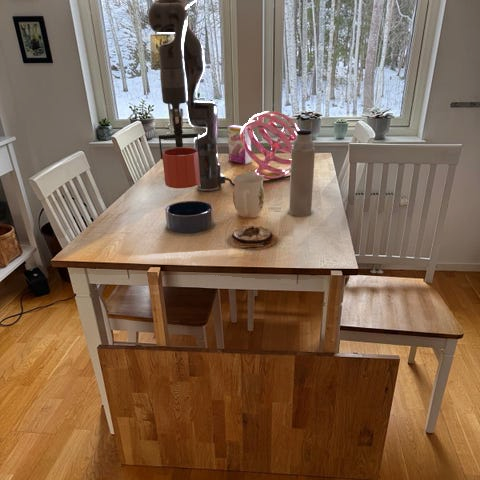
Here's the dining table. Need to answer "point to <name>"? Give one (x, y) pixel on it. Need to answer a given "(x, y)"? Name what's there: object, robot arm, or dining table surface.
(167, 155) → the red bucket
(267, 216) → the dining table surface
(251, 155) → the spiral basket
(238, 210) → the pitcher
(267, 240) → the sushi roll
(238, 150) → the candy bar box
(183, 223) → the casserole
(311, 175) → the thermos bottle
